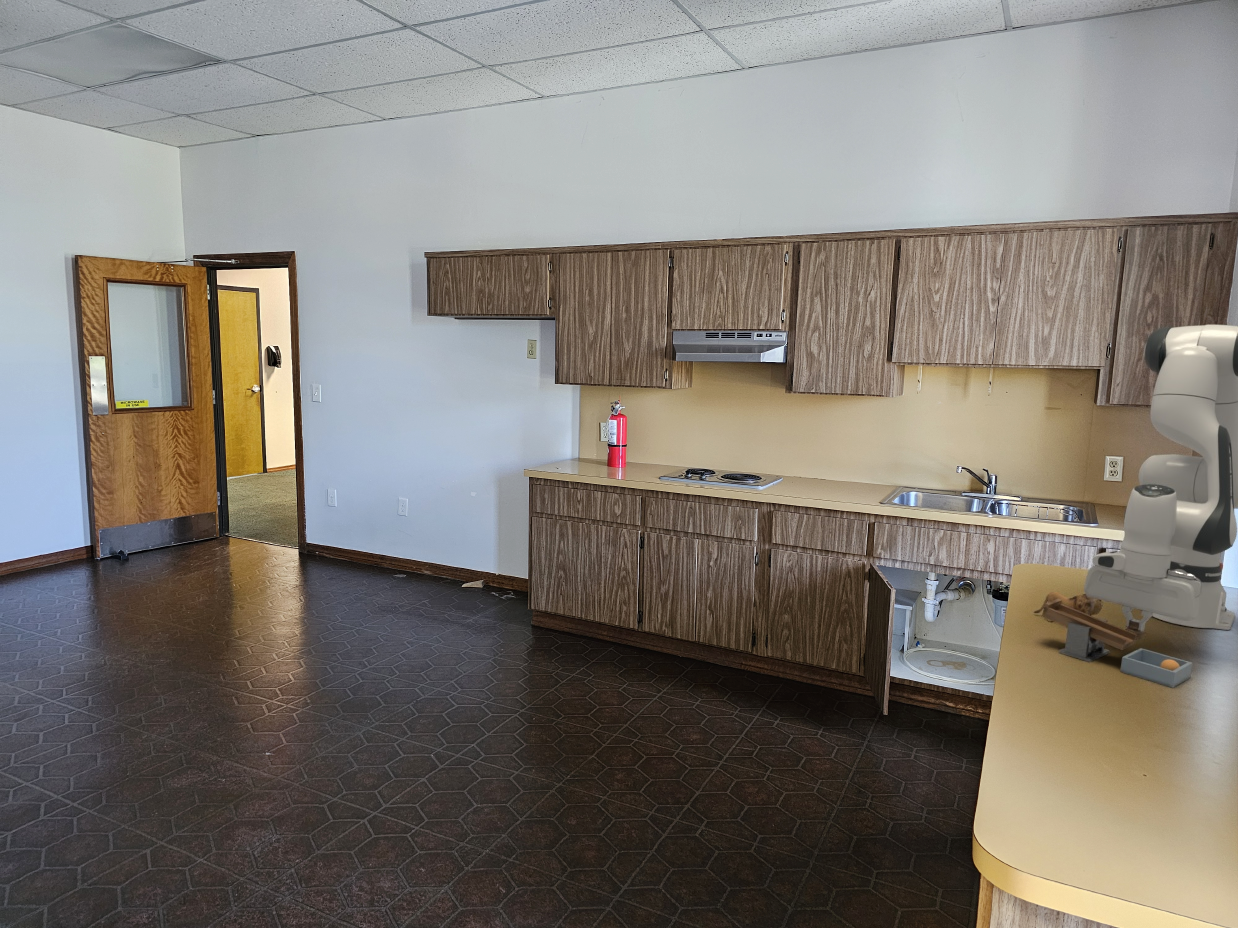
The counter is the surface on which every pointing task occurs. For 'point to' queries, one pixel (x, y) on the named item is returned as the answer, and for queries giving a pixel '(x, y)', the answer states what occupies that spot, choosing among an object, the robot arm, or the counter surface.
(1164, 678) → the tray
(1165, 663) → the ball
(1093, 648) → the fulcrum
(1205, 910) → the counter surface
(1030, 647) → the counter surface
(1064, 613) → the lever
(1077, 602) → the lion figurine
